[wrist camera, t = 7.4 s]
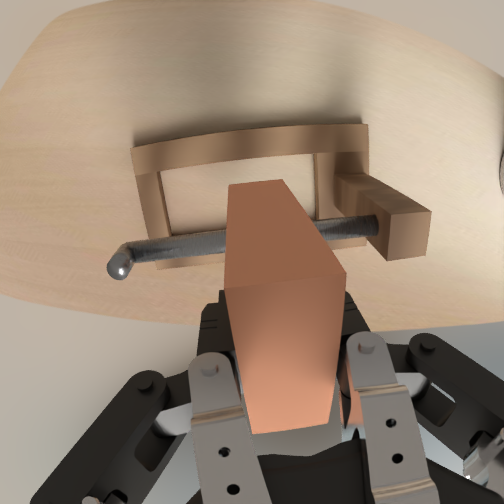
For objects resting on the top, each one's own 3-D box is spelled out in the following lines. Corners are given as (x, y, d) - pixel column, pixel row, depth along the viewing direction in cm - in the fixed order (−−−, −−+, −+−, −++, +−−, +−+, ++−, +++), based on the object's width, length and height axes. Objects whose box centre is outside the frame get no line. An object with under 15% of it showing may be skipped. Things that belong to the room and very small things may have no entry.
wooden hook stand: (362, 123, 25) (441, 138, 14) (362, 240, 30) (419, 309, 19) (134, 146, 25) (68, 175, 14) (159, 264, 30) (126, 346, 19)
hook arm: (370, 211, 19) (390, 227, 16) (369, 230, 19) (388, 249, 17) (119, 240, 19) (103, 260, 16) (124, 259, 19) (110, 281, 17)
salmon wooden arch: (228, 185, 17) (224, 287, 7) (282, 179, 17) (346, 273, 7) (242, 290, 20) (252, 433, 10) (288, 285, 20) (327, 422, 10)
